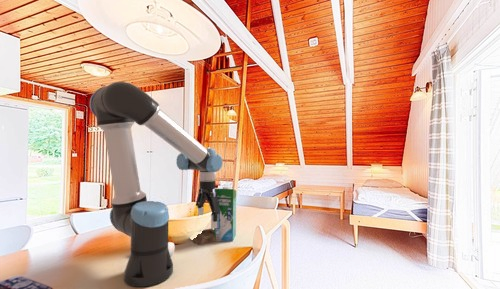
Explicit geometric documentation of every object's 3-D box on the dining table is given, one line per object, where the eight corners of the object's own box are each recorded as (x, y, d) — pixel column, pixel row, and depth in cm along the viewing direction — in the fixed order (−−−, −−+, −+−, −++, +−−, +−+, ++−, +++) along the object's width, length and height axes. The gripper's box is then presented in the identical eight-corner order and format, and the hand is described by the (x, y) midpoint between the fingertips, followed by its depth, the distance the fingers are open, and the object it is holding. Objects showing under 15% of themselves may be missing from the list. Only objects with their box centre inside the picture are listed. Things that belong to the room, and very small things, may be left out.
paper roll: (172, 239, 98) (146, 235, 101) (164, 251, 93) (137, 247, 96) (176, 249, 100) (151, 246, 104) (168, 262, 95) (142, 257, 99)
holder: (198, 245, 109) (198, 239, 109) (188, 238, 117) (188, 232, 117) (224, 238, 118) (224, 232, 118) (214, 232, 125) (214, 227, 126)
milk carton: (235, 235, 123) (236, 185, 123) (232, 242, 114) (233, 189, 114) (218, 234, 124) (218, 185, 124) (213, 241, 115) (214, 188, 115)
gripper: (228, 182, 110) (227, 230, 110) (202, 177, 130) (202, 217, 129) (213, 184, 105) (212, 233, 105) (189, 178, 125) (189, 219, 125)
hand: (207, 224), depth 117 cm, fingers open, 13 cm apart
